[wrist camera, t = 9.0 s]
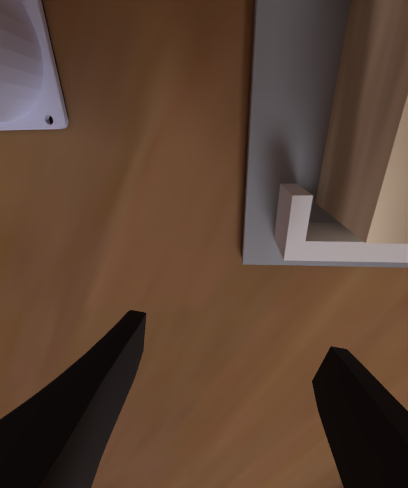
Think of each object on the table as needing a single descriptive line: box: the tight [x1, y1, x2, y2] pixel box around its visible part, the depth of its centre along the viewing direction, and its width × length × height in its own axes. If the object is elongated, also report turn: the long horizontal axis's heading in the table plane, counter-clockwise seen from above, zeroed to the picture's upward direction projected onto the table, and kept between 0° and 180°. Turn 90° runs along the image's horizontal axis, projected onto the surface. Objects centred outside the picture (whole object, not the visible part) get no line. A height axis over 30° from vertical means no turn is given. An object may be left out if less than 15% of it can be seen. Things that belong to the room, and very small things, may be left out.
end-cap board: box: [242, 0, 408, 267], centre depth 12 cm, size 12×20×4 cm, turn 1°
